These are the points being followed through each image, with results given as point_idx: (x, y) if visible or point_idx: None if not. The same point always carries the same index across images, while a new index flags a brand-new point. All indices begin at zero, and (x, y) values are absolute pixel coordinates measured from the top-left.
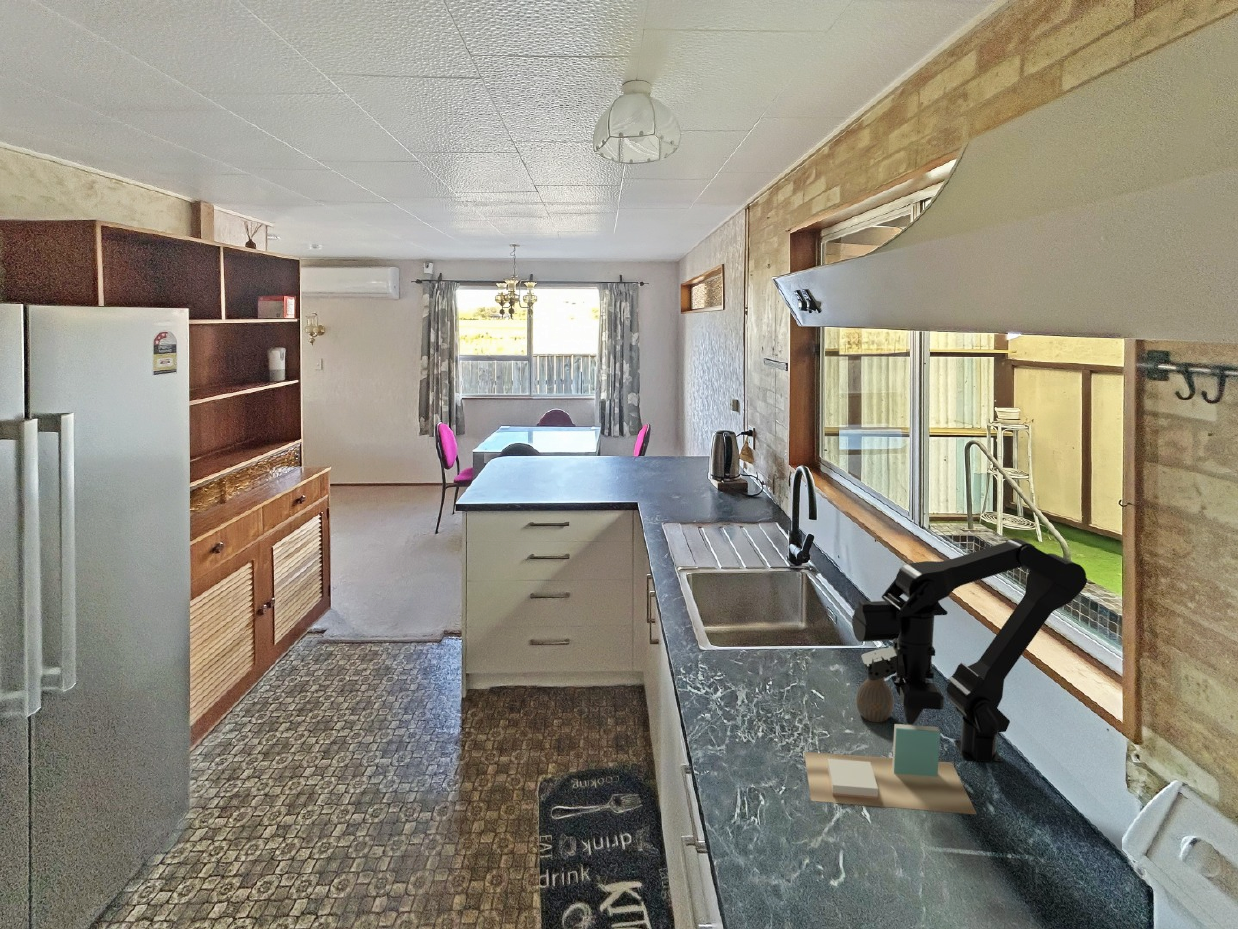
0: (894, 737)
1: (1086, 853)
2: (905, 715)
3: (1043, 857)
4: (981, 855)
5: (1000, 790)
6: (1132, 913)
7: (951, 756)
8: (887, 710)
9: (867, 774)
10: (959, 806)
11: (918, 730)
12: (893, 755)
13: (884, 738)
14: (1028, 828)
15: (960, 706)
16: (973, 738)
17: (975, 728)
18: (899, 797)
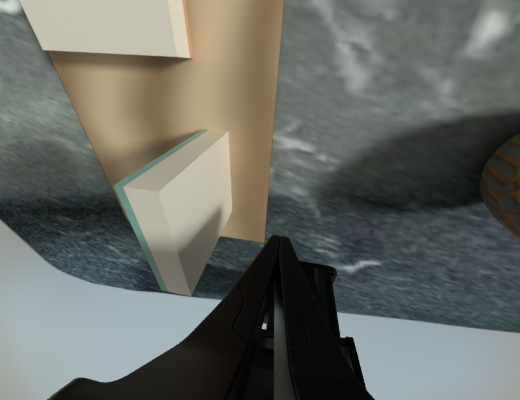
0: (175, 165)
1: (119, 276)
2: (286, 251)
3: (89, 246)
4: (45, 191)
5: (206, 264)
6: (55, 266)
7: None
8: (496, 207)
9: (97, 27)
10: None
11: (144, 250)
12: (204, 142)
13: (387, 154)
14: (135, 255)
15: (266, 378)
16: (273, 304)
17: (268, 328)
18: (109, 113)
